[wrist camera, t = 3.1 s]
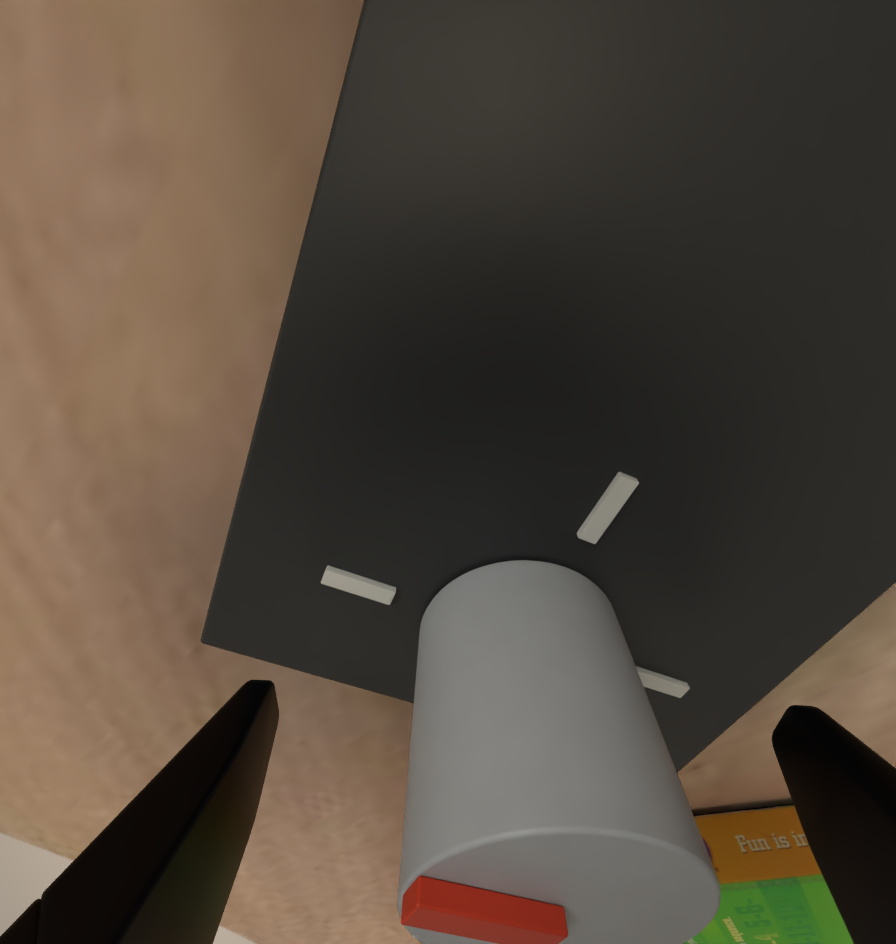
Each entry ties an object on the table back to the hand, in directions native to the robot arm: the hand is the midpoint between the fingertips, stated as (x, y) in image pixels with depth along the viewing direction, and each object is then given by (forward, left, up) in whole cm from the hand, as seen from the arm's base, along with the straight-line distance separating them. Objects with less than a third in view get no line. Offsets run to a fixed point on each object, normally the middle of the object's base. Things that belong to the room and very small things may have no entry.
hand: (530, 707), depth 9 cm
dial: (0, 0, -2) cm, 2 cm away
